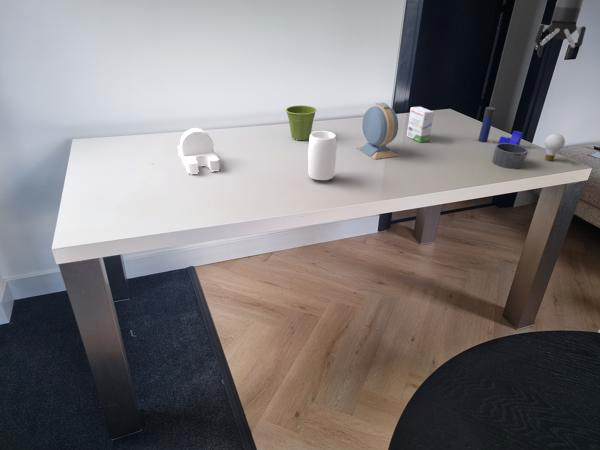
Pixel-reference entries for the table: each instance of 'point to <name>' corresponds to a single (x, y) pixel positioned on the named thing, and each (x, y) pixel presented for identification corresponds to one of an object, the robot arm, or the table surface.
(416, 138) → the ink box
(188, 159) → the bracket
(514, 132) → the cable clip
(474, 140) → the coaster
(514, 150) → the pen pot
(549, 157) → the light bulb
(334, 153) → the cup
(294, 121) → the plant pot
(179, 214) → the table surface
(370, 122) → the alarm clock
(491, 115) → the marker
